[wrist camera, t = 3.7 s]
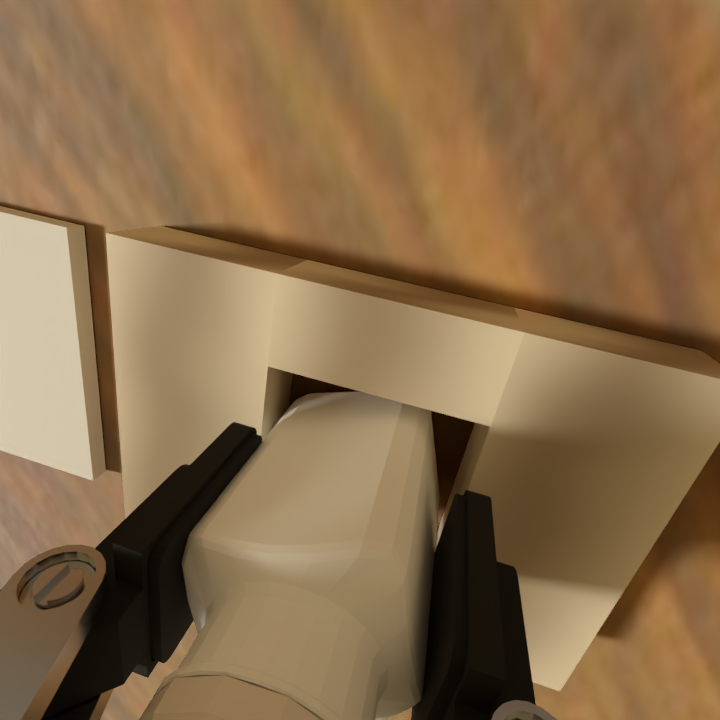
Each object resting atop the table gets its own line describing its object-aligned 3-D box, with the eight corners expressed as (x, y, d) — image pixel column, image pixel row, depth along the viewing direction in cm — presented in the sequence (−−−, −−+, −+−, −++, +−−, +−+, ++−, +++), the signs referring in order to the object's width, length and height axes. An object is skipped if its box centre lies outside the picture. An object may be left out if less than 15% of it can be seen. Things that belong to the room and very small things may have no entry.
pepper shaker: (430, 380, 12) (335, 930, 3) (442, 498, 13) (400, 1111, 4) (295, 385, 13) (-62, 805, 4) (319, 495, 14) (90, 984, 5)
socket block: (700, 350, 10) (754, 387, 8) (547, 625, 14) (559, 690, 12) (161, 226, 12) (105, 233, 10) (165, 500, 16) (126, 540, 14)
